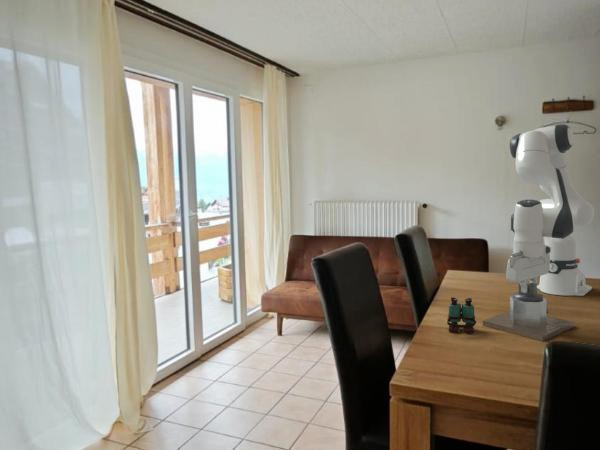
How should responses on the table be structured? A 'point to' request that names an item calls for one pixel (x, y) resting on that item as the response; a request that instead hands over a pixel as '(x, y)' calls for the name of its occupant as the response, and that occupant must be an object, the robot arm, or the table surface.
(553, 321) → the square base plate
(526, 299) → the grey dial knob
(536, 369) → the table surface
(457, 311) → the binoculars
